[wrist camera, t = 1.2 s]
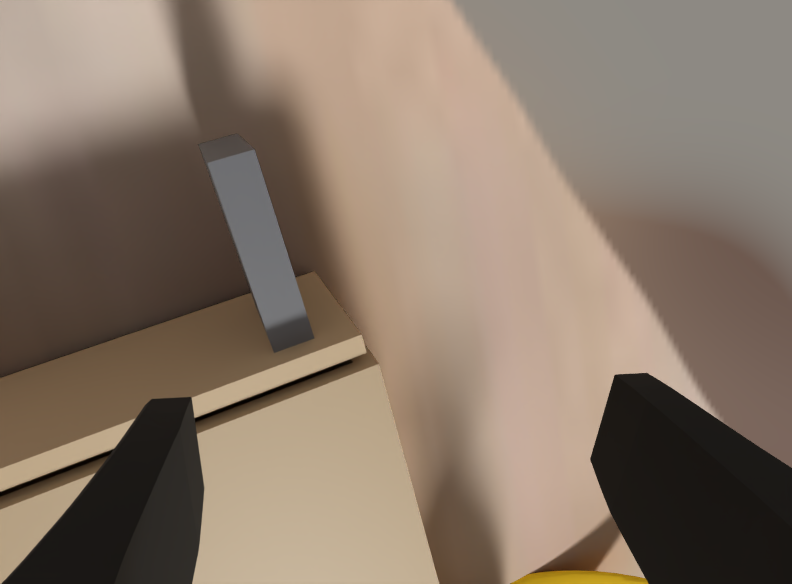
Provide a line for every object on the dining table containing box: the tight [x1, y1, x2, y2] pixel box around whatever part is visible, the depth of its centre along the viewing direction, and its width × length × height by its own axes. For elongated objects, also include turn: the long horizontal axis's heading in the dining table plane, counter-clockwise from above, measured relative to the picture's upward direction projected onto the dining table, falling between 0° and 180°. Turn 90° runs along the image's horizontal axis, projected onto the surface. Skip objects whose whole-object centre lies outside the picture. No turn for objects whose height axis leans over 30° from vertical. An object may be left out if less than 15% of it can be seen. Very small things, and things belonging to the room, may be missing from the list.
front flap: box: [0, 134, 367, 492], centre depth 17 cm, size 16×6×6 cm, turn 103°
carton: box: [0, 344, 439, 584], centre depth 21 cm, size 16×10×7 cm, turn 103°
